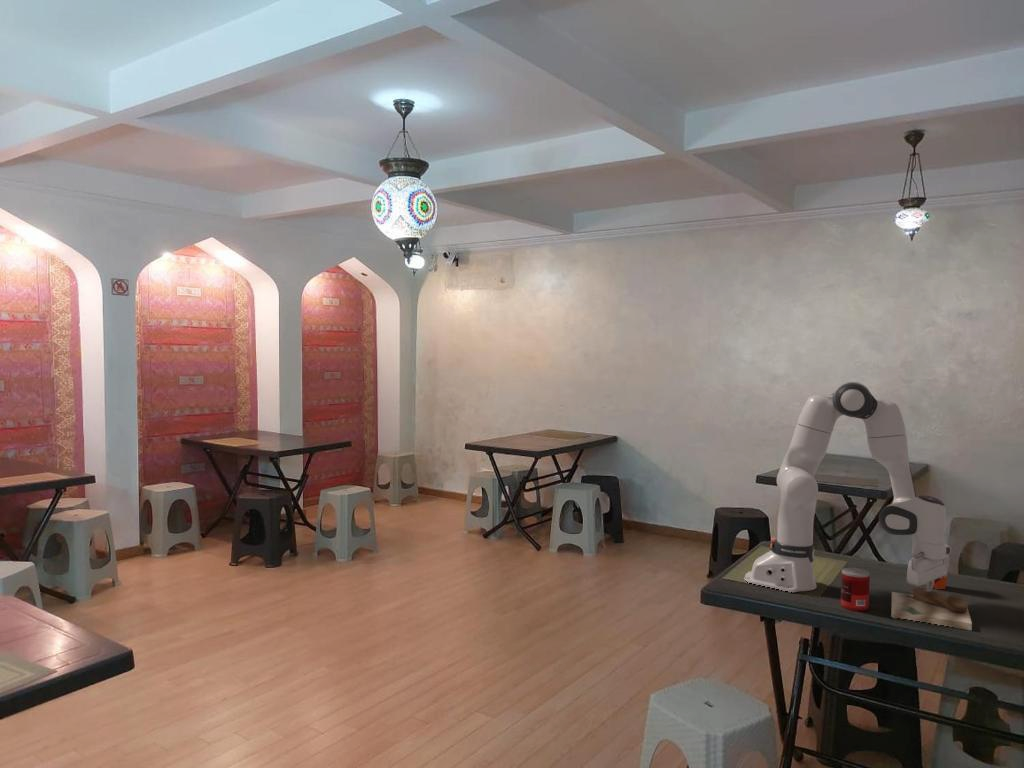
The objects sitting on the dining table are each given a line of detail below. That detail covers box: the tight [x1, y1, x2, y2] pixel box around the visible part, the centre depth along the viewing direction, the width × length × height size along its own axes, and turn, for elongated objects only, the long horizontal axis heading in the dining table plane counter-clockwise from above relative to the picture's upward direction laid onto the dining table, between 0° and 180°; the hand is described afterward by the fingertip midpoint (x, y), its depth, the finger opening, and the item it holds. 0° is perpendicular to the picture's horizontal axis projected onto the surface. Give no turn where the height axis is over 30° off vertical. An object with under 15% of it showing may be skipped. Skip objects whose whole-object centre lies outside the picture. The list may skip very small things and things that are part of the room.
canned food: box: [840, 567, 871, 612], centre depth 224 cm, size 8×8×11 cm
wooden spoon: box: [912, 586, 968, 612], centre depth 219 cm, size 14×5×4 cm, turn 36°
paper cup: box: [932, 544, 951, 590], centre depth 243 cm, size 8×8×14 cm
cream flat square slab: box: [890, 591, 973, 631], centre depth 219 cm, size 20×19×2 cm
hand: (926, 594), depth 225 cm, fingers closed
